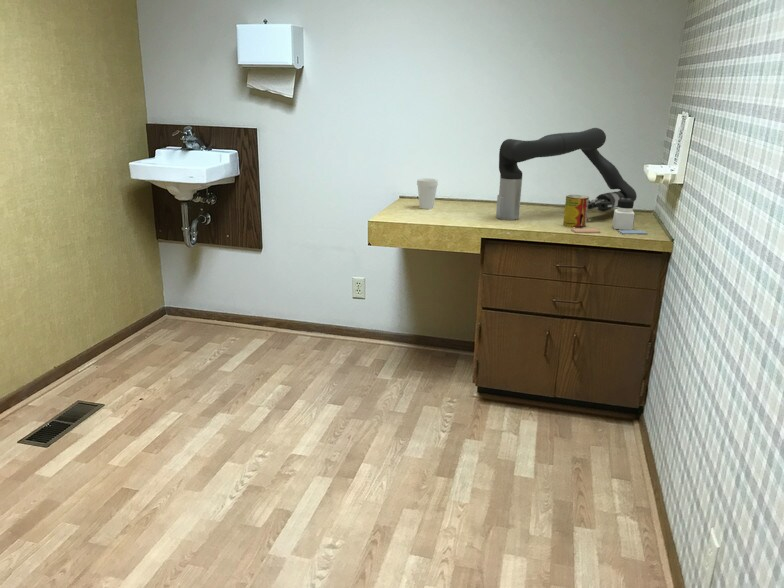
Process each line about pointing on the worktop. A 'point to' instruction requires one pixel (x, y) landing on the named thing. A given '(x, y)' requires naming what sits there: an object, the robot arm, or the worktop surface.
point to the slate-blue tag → (632, 232)
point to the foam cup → (427, 192)
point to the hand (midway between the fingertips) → (588, 206)
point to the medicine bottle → (624, 215)
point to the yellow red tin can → (576, 211)
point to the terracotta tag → (585, 230)
